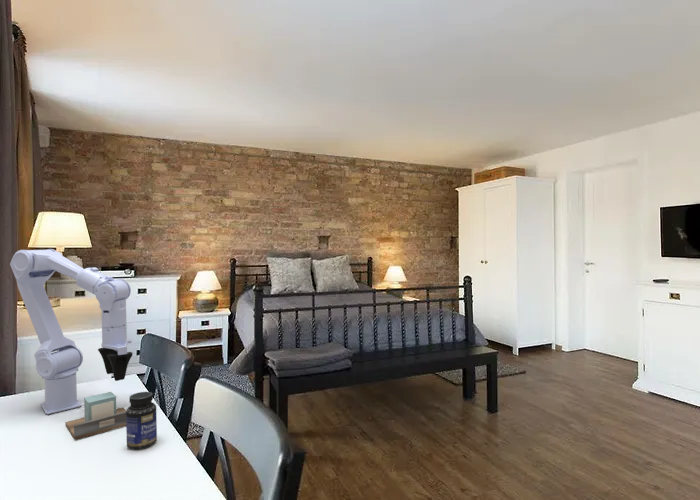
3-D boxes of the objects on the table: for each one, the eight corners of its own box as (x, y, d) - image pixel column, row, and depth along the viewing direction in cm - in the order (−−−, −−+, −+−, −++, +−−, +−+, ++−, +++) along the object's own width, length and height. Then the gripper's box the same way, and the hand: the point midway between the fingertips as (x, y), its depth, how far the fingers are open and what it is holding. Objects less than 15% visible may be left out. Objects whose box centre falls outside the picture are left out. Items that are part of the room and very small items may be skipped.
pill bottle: (144, 451, 91) (143, 401, 91) (120, 449, 92) (118, 399, 92) (162, 438, 97) (161, 391, 97) (139, 436, 98) (138, 389, 98)
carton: (84, 421, 105) (84, 397, 104) (111, 414, 109) (111, 391, 108) (89, 427, 101) (88, 403, 101) (116, 420, 105) (116, 396, 105)
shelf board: (65, 425, 104) (65, 412, 104) (123, 410, 113) (122, 398, 113) (75, 440, 96) (74, 426, 96) (136, 423, 105) (136, 410, 105)
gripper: (139, 327, 110) (140, 379, 110) (122, 320, 120) (123, 367, 120) (108, 331, 105) (110, 386, 105) (94, 323, 115) (95, 372, 116)
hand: (115, 376), depth 112 cm, fingers open, 7 cm apart
